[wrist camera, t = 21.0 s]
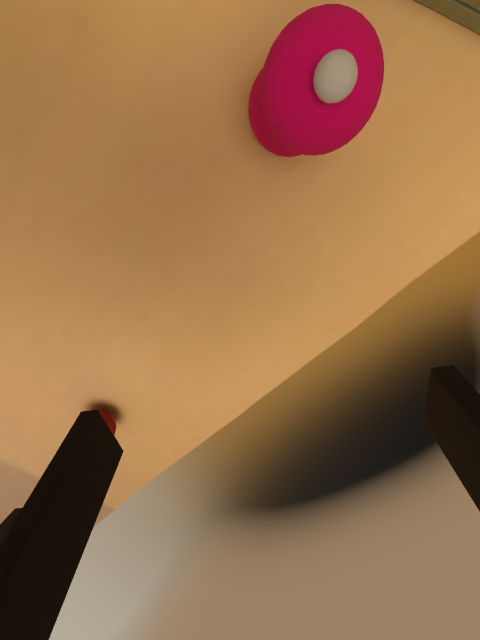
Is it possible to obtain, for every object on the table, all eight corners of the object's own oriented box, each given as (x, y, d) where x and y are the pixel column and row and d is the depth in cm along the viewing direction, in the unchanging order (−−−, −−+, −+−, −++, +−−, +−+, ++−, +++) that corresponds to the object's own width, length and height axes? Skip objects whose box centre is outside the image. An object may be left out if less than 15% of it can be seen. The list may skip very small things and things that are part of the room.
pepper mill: (268, 168, 32) (291, 204, 14) (235, 92, 28) (214, 22, 11) (334, 130, 30) (453, 119, 13) (307, 44, 26) (416, -129, 9)
